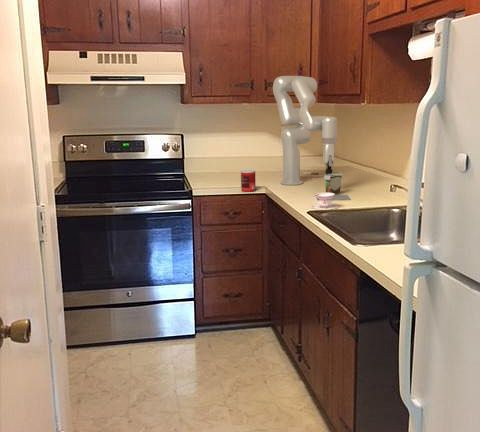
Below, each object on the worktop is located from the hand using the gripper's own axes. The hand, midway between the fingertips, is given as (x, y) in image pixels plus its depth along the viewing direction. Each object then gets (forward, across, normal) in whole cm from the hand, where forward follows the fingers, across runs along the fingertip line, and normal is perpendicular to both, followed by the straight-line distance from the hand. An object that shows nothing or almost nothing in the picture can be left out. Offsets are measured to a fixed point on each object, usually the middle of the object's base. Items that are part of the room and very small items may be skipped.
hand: (328, 176), depth 281 cm
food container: (+8, +9, 0) cm, 12 cm away
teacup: (+8, +40, -6) cm, 41 cm away
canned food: (+8, -4, -42) cm, 43 cm away
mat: (+8, +18, 0) cm, 19 cm away
